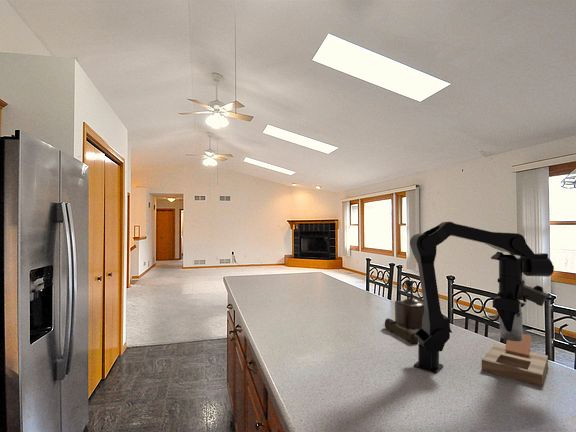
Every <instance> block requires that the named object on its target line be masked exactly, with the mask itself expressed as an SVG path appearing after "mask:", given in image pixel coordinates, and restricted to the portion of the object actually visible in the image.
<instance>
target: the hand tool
mask: <svg viewBox="0 0 576 432" xmlns="http://www.w3.org/2000/svg"><path fill="white" fill-rule="evenodd" d="M384 328H385V329H386V331H388V332H390V333H394V334H396V335H398V336H400V337H401V338H403V339H405V340H407V341H408V342H409V343H410V344H411V345H416V344H417V345H418V344H419V342H418V341H416V338H415V336H414V334H415V333H416V332H414V331H411V329H406V328H404V327H402V326H401V325H399V324H397V323H396V322H395V320H393V319H391V318H385V320H384Z"/></svg>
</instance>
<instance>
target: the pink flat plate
mask: <svg viewBox="0 0 576 432" xmlns="http://www.w3.org/2000/svg"><path fill="white" fill-rule="evenodd" d="M505 346H506V348H505V351H506V352H510V353H514V354H519V355H523V356H528V357H529V356H530V352H531V346H532V335H529V334H526V333H522V341H510V340H506V343H505Z"/></svg>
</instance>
